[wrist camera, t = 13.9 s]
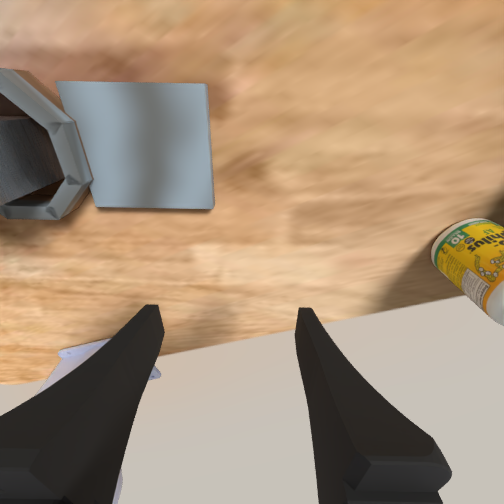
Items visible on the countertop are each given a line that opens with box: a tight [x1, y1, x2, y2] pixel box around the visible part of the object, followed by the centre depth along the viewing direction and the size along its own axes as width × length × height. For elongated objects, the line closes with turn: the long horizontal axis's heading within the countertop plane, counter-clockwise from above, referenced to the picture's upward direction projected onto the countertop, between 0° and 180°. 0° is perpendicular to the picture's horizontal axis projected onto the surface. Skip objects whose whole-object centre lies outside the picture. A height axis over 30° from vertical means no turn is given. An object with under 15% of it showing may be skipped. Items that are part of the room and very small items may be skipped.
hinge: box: [0, 68, 215, 220], centre depth 17 cm, size 26×9×2 cm, turn 89°
